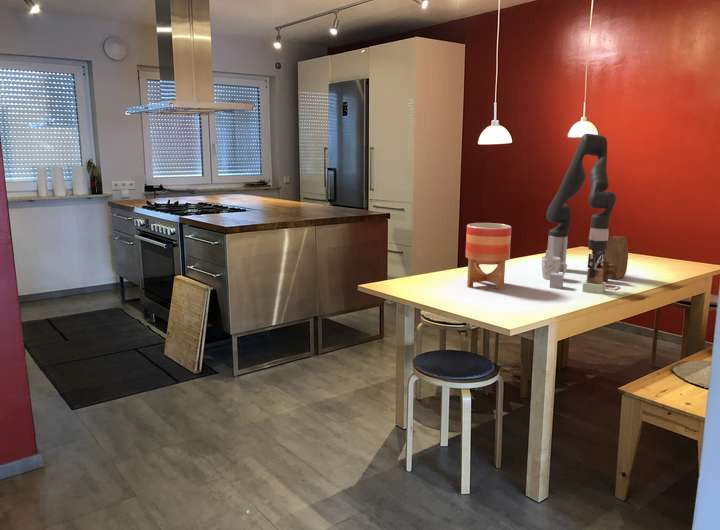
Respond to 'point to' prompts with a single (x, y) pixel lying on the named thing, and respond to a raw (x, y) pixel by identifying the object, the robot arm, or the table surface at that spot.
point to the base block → (594, 287)
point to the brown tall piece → (617, 255)
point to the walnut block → (595, 276)
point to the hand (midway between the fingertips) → (595, 276)
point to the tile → (611, 287)
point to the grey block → (556, 280)
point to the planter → (487, 251)
